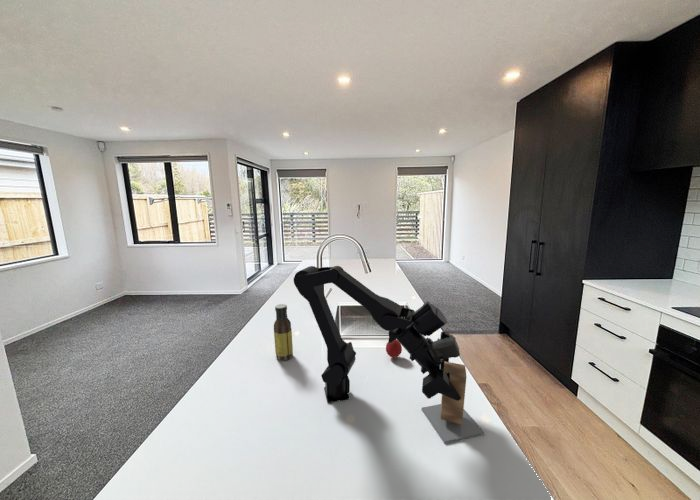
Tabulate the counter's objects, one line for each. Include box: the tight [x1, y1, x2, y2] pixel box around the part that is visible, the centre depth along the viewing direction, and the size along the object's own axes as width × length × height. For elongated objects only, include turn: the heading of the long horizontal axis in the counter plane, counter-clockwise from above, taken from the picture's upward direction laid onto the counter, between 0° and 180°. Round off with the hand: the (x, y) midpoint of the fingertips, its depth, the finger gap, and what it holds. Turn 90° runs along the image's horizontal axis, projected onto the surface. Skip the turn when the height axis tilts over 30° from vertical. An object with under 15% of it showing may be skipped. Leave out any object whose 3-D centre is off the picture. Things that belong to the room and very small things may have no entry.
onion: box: [385, 339, 403, 359], centre depth 98 cm, size 6×6×8 cm
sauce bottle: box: [273, 303, 294, 362], centre depth 98 cm, size 6×6×20 cm
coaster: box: [421, 403, 486, 445], centre depth 70 cm, size 11×11×1 cm
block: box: [440, 361, 467, 425], centre depth 69 cm, size 5×5×13 cm
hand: (458, 392), depth 68 cm, fingers closed on block, 5 cm apart
